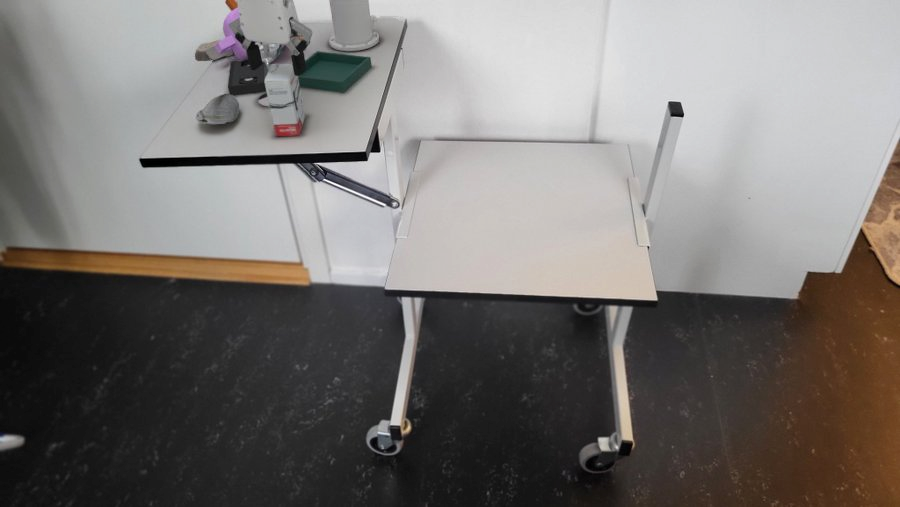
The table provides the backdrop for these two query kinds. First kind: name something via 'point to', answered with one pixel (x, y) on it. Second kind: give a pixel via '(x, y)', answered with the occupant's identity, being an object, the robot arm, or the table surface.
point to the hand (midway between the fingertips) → (278, 70)
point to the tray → (333, 71)
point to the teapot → (231, 38)
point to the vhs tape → (246, 78)
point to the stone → (210, 52)
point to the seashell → (219, 110)
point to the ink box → (284, 99)
